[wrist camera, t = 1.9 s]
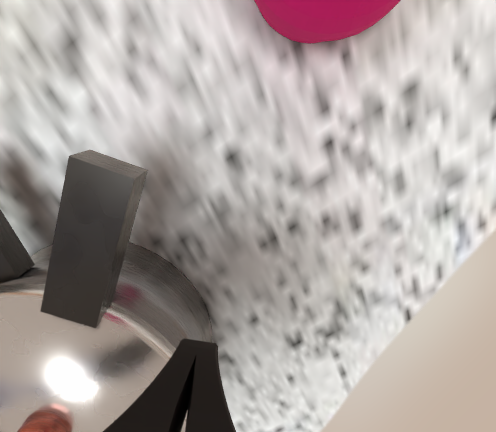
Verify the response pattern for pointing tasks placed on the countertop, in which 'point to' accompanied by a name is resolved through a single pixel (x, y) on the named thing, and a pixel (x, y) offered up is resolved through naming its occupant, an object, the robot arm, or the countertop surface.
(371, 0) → the pepper mill
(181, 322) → the cooker pot
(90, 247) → the cooker lid
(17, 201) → the countertop surface
